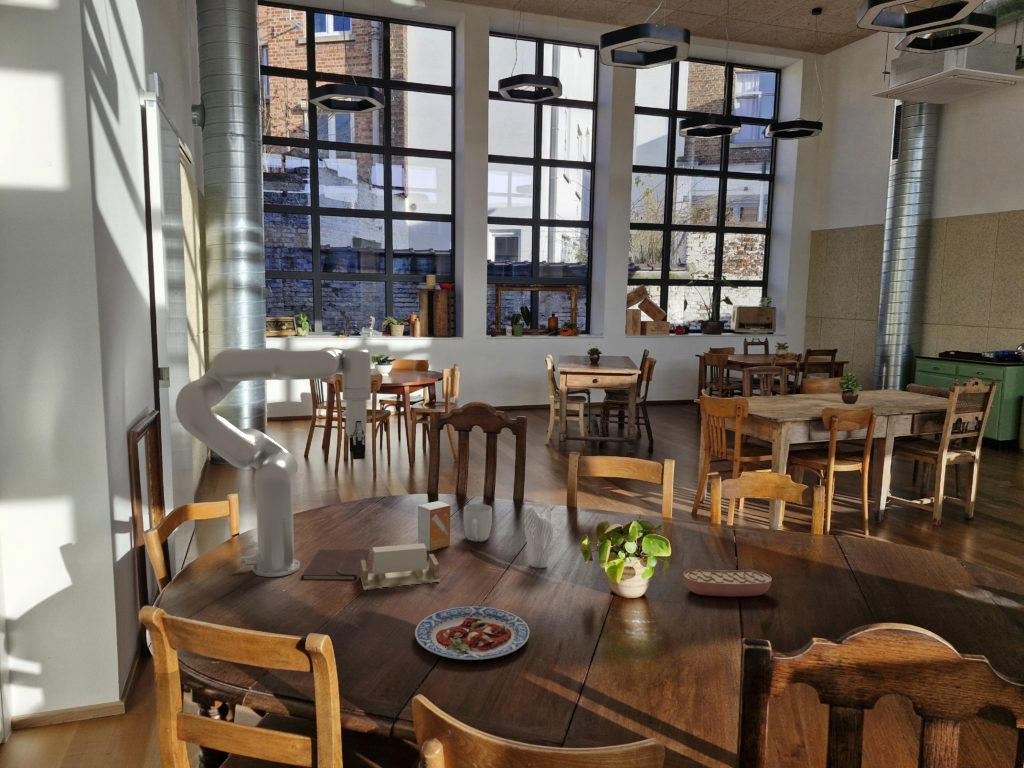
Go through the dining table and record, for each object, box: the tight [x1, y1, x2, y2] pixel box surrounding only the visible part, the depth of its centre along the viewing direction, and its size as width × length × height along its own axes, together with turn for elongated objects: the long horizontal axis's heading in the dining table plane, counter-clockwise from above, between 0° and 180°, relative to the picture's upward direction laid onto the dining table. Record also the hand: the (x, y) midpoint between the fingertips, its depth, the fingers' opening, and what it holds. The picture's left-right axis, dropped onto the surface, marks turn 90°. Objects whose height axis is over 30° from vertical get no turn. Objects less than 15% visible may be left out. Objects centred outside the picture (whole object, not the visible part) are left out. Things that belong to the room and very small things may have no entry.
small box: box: [417, 500, 452, 552], centre depth 227 cm, size 8×6×13 cm
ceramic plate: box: [414, 605, 530, 661], centre depth 168 cm, size 26×26×3 cm
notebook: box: [300, 548, 370, 580], centre depth 211 cm, size 15×20×2 cm
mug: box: [462, 503, 493, 543], centre depth 233 cm, size 13×9×10 cm
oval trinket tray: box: [682, 568, 773, 598], centre depth 196 cm, size 23×10×5 cm, turn 90°
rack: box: [359, 553, 440, 591], centre depth 201 cm, size 20×9×5 cm, turn 107°
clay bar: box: [372, 543, 428, 574], centre depth 201 cm, size 14×4×6 cm, turn 107°
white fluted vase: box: [523, 505, 554, 569], centre depth 213 cm, size 8×8×18 cm
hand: (357, 455), depth 206 cm, fingers open, 9 cm apart
